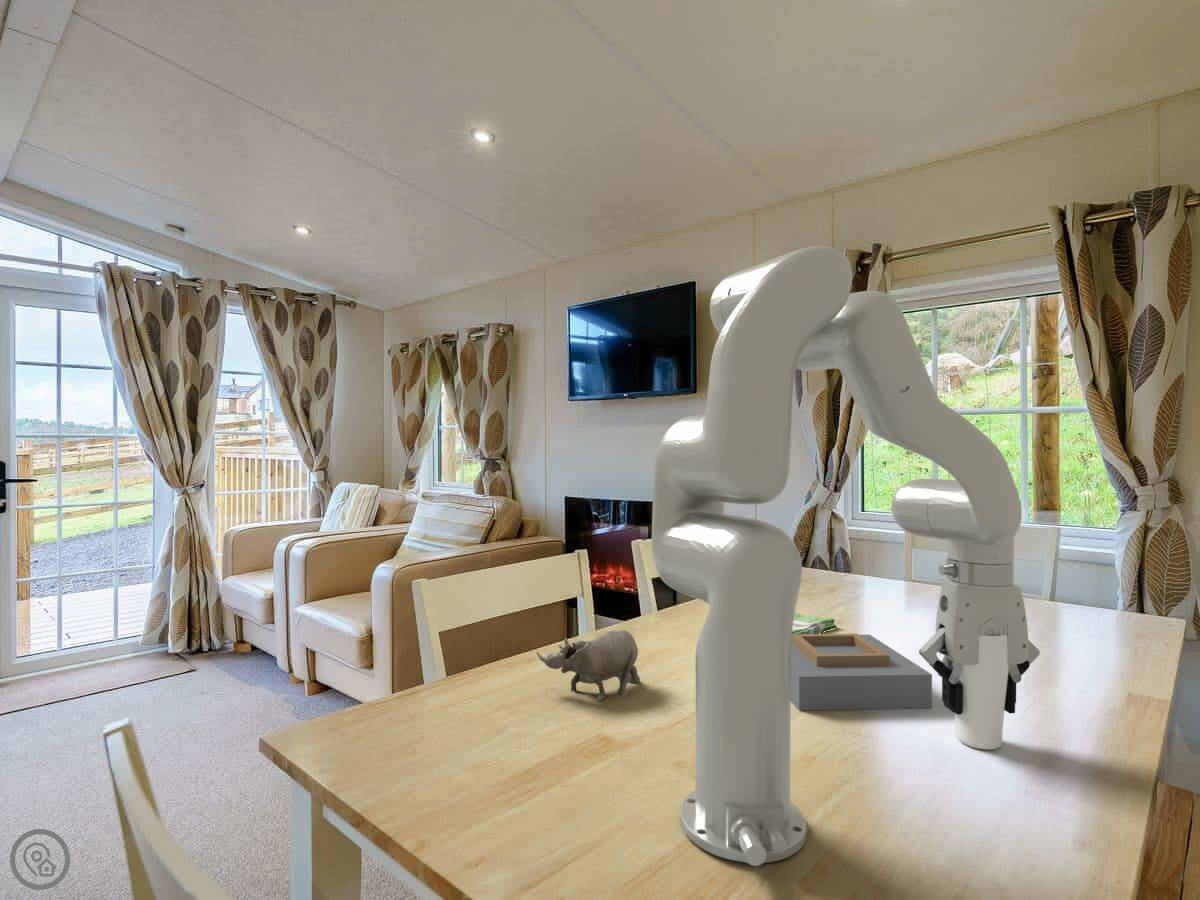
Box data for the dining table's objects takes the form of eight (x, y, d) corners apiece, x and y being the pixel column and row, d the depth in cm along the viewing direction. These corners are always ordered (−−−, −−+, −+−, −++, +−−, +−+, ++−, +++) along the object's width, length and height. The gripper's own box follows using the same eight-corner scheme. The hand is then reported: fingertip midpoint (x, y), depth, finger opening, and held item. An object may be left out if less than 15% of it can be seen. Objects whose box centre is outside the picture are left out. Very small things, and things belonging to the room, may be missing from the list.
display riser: (931, 708, 97) (932, 664, 96) (799, 710, 96) (799, 666, 95) (869, 662, 116) (869, 626, 116) (759, 664, 116) (759, 627, 115)
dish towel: (704, 633, 136) (704, 616, 136) (770, 614, 151) (770, 599, 151) (774, 654, 123) (774, 635, 123) (838, 631, 138) (839, 614, 137)
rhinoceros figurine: (670, 677, 102) (614, 603, 100) (604, 740, 98) (545, 663, 96) (651, 665, 109) (599, 596, 108) (589, 723, 105) (534, 652, 104)
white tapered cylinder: (1018, 757, 82) (1019, 637, 81) (959, 751, 83) (959, 634, 83) (996, 733, 88) (997, 623, 88) (942, 728, 90) (943, 620, 89)
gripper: (931, 580, 81) (930, 723, 81) (1065, 578, 82) (1063, 720, 82) (900, 568, 89) (899, 699, 89) (1023, 567, 89) (1022, 697, 90)
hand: (978, 708), depth 85 cm, fingers closed on white tapered cylinder, 6 cm apart
